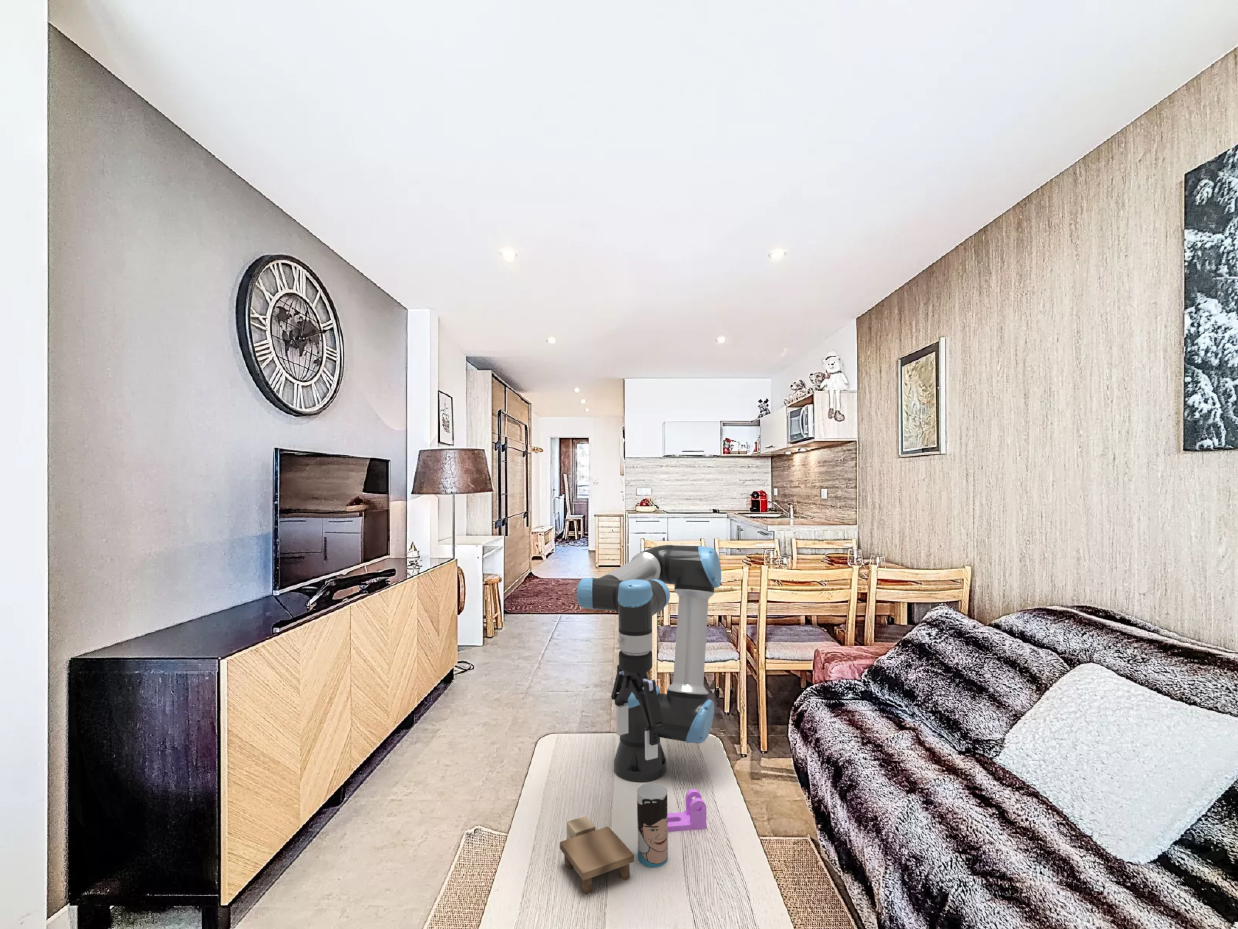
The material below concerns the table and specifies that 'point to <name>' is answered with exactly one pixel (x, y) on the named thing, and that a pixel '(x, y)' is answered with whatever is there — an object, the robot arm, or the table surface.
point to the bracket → (689, 814)
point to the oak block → (579, 827)
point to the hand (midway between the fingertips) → (636, 745)
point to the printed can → (652, 825)
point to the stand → (596, 855)
